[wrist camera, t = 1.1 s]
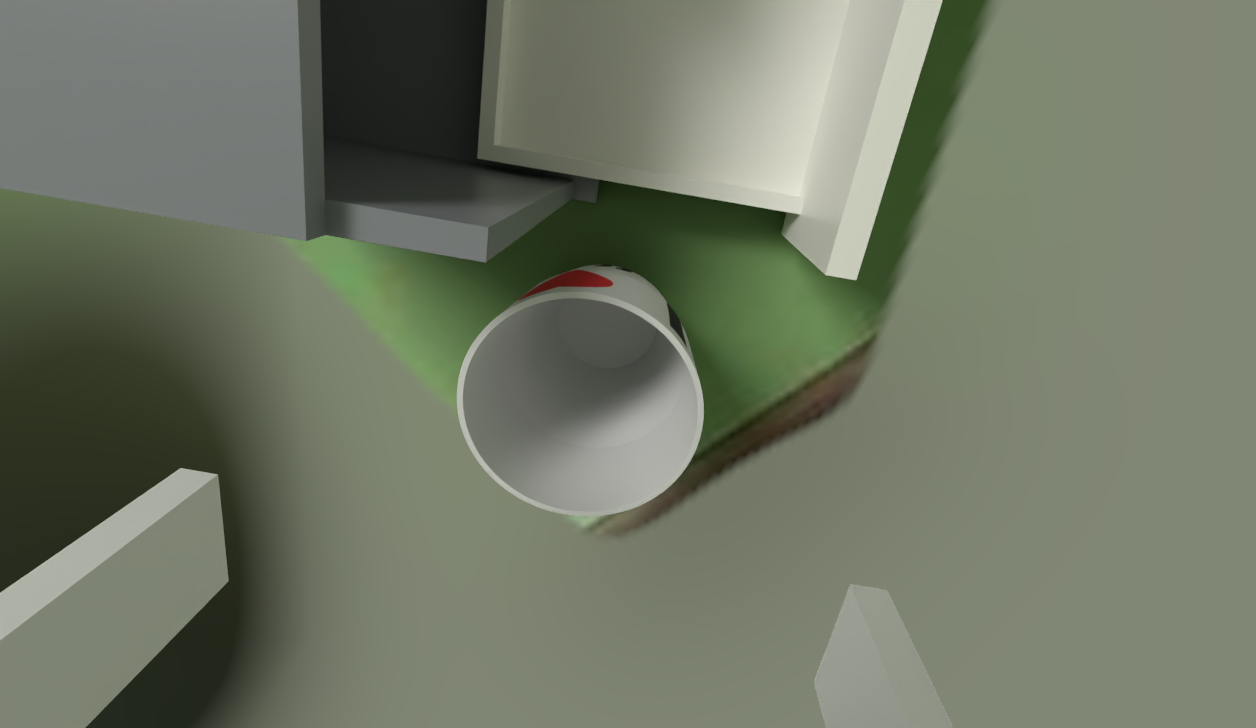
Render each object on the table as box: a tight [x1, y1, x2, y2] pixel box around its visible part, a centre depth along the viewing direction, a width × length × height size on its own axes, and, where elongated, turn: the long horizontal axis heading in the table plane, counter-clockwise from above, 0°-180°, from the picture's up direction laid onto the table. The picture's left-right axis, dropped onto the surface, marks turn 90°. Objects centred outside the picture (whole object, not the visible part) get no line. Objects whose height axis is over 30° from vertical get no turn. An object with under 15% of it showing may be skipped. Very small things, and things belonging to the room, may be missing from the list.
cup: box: [457, 265, 704, 516], centre depth 24 cm, size 8×8×10 cm
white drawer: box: [477, 0, 943, 280], centre depth 20 cm, size 14×15×8 cm
